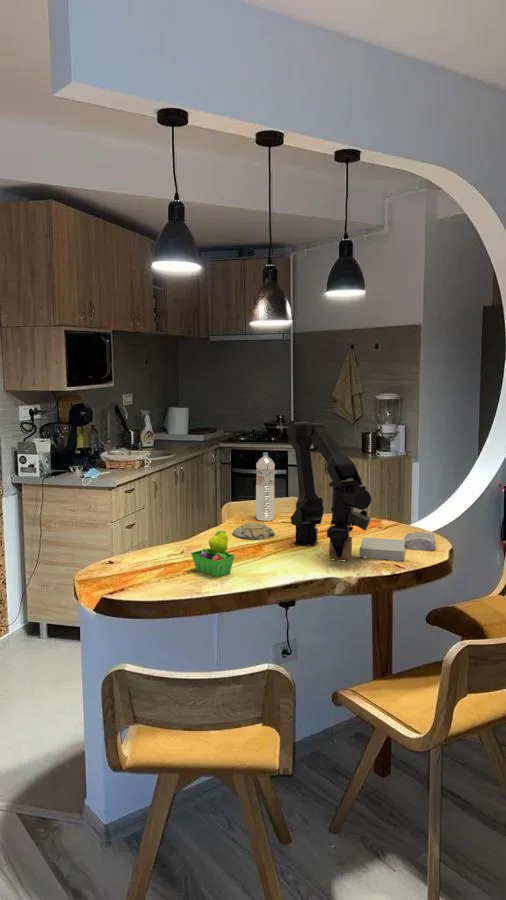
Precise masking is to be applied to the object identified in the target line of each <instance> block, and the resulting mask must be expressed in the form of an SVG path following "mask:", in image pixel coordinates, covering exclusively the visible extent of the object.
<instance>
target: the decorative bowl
mask: <svg viewBox="0 0 506 900" xmlns="http://www.w3.org/2000/svg"><path fill="white" fill-rule="evenodd" d="M231 535H232V536H234V537H236V538H238V539H241V540H246V541H262V540H269V539H271V538H272V537H275V536H276V534H275V531H274V530H273V528H271V527H269V526H268V525H266V524H265V523H262V522H245V523H242V524H241V525H240V526H238V527H236V528H235V529H234V530H233V532H232V533H231Z"/></svg>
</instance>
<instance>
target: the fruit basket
mask: <svg viewBox="0 0 506 900" xmlns="http://www.w3.org/2000/svg"><path fill="white" fill-rule="evenodd" d="M226 533H227V532H226V531H223V530H221V529H220V530H217V531H216V533H215V534H214V536H213V537H211V538H210V539H209V540H208V546H209V548H203V549H200V550H196V551H193V552H190V555H191V557H192V560H193V562H194V566H195V571H198V572H201V573H203V574H207V575H210V576H213V577H216V578H217V577H220V576H222V577H223V576H225V575H227V574H231V571H232V567H233V564H234V560H235V558H236V555H235V554H231V553H228V552H227V550H228V546H229V545H228V540H229V537H228V534H226Z"/></svg>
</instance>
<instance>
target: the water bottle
mask: <svg viewBox="0 0 506 900" xmlns="http://www.w3.org/2000/svg"><path fill="white" fill-rule="evenodd" d="M255 465H256V466H255V467H256V484H255V518H256V520H258V521H261V522H270V521H273V520H274V519H275V468H276V467H275V466H276V464H275V462H274V460H273V459H272V458H270V457H269V453H268V452H263V453H262V457H261V458H259V459H258V461H257V462H256V463H255Z"/></svg>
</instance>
